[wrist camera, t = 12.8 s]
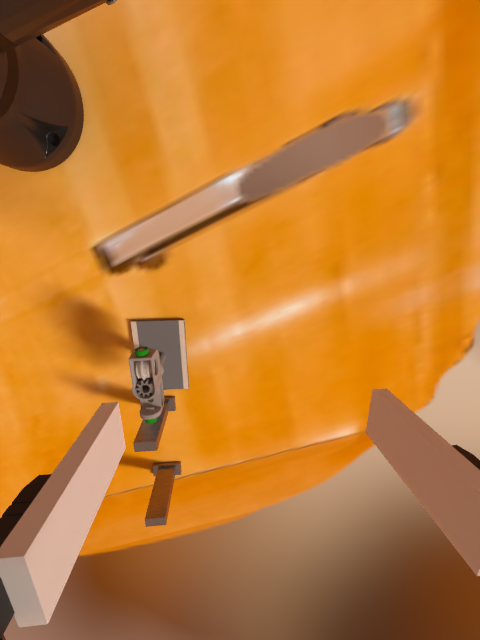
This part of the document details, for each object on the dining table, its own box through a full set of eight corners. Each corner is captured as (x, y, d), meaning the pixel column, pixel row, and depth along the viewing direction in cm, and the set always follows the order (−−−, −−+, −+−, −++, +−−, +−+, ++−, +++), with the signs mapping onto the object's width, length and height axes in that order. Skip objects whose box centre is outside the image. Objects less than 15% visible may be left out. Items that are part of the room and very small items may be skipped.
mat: (131, 320, 41) (130, 321, 40) (184, 319, 41) (183, 320, 41) (140, 388, 44) (139, 390, 44) (188, 386, 45) (188, 388, 44)
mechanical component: (155, 385, 44) (137, 425, 34) (147, 326, 41) (126, 353, 31) (173, 384, 44) (161, 424, 34) (167, 325, 41) (151, 351, 31)
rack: (144, 398, 45) (125, 440, 35) (174, 396, 45) (163, 438, 36) (154, 473, 50) (139, 529, 40) (181, 471, 50) (172, 526, 40)
